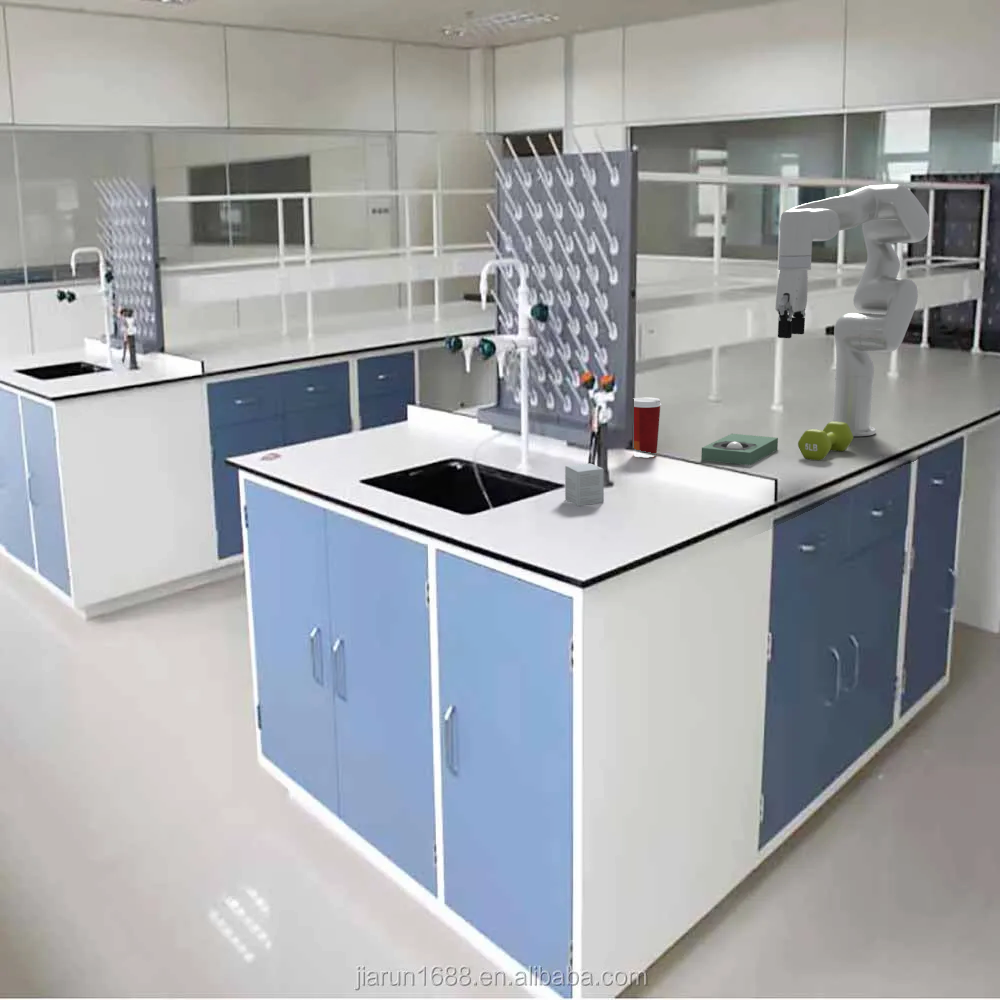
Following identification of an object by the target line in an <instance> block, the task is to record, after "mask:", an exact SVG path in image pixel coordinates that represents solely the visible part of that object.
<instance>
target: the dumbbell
mask: <svg viewBox="0 0 1000 1000" xmlns="http://www.w3.org/2000/svg"><path fill="white" fill-rule="evenodd" d="M824 426H825V427H823V429H815V428H814V429H812V428H811V429H807V430H805V431H804V432H803V433H802V435H801V436H800V438H799V440H798V442H797V446H798V449H799V450H800V453H801V455H802V457H803V458H804V459H806V460H810V459H811V461H822V460H824V459H825V457H827V455H828V454H829V453H830V451H831V450H832V452H833V451H834V452H844V451H846V450H847V449H848V447H850V445H851V443H852V441H853V440H854V436H853V434H852V432H851V430H850V428H849V426H848V424H847V423H844V422H837V421H833V420H832V421H829V422H828V423H827V424H826V425H824Z"/></svg>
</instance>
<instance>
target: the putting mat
mask: <svg viewBox="0 0 1000 1000" xmlns="http://www.w3.org/2000/svg"><path fill="white" fill-rule="evenodd" d="M731 442H739V443H740V444H741V445H742V447H743V448H726V447H727V445H728V444H729V443H731ZM778 444H779V438H778V437H773V436H760V435H753V434H751V435H750V434H743V433H742V434H741V433H739V434H738V433H730V434H728V435H726V436H724V437H721V438H719V439H717V440H716V441H713V442H711V443H709V444H706V445H704V446H703V447H701V456H700V457H701V461H707V462H716V463H727V464H735V465H744V466H751V465H752V464H754V463H756V462H758V461H760V460H761V459H763V458H765V457H767V456H768V455H770V454H773V453H775V451H778V449H779V448H778Z"/></svg>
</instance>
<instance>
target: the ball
mask: <svg viewBox="0 0 1000 1000" xmlns="http://www.w3.org/2000/svg"><path fill="white" fill-rule="evenodd" d="M726 448H743V447H742V445H741V444H740V443H739V442H731V443H729V444H728V445H727V447H726Z"/></svg>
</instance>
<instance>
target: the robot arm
mask: <svg viewBox="0 0 1000 1000" xmlns="http://www.w3.org/2000/svg"><path fill="white" fill-rule="evenodd" d="M930 223H931V222H930V217H929V214H928V213H927V211H926V209H925V208H924V207H923V204H921V202H920V201H919V199H918V198H917V197H916V196H915V194H914V193H913V192H912V191H911V189H909V188H908V187H906V186H905V185H903V184H898V183H897V184H893V183H892V184H873V185H868V186H867V185H866V186H863V187H861V188H858V189H855V190H853V191H850V192H847V193H845V194H842V195H839V196H832V197H828V198H825V199H821V200H815V201H811V202H808V203H807V202H806V203H802V204H801V205H797V206H794V207H792V208H789V209H788V210H785V211H783V212H782V213H781V214H780V221H779V246H778V267H777V270H778V271H779V272H778V273H779V274H778V280H777V285H776V287H777V288H776V297H775V298H776V299H775V311H776V312H777V313H778V317H777V318H778V319H777V320H778V323H777V338H779V339H791V338H792V336H793V335H804V334H805V325H806V324H805V323H806V309H807V304H808V292H809V291H808V286H809V285H808V284H809V282H808V281H809V280H808V278H809V277H808V276H809V275H808V274H809V273H808V271H809V270H810V271H811V270H812V253H813V242H825V241H829V240H832V239H833V238H834V237H836V236H837V234H838V233H839V232H840V231H846V230H850V229H853V228H856V227H858V226H862V234H863V239H864V243H865V247H866V253H867V255H866V256H867V257H866V259H867V260H866V263H865V267H864V269H863V272H862V275H861V276H860V280H859V282H858V284H857V286H856V289H855V293H854V296H853V307H854V308H855V309H856V310H858V311H859V312H848V313H845V314H843V315H841V316H840V317H839V318H838V319H837V320H836V322H835V323H834V329H833V330H834V331H833V334H834V335H833V337H834V344H835V353H836V354H835V355H836V357H835V358H836V361H835V362H836V364H835V380H834V395H833V410H832V413H833V414H832V421H837V422H844V423H847V424H848V426H849V428H850V430H851V432H852V434H853V437H867V436H868V437H869V436H873V435H875V434H876V431H877V429H876V428H875V427H873V426H871V416H872V415H871V414H872V404H873V401H872V399H873V388H874V387H873V386H874V385H873V384H874V371H875V370H874V369H875V367H874V363H873V359H872V358H871V356H870V353H869V352H876V353H877V352H878V353H892V352H895V351H897V350H898V349H899V348H900V346H901V345H902V343H903V341H904V338H905V336H906V333H907V330H908V328H909V326H910V323H911V320H912V318H913V315H914V312H915V311H916V307H917V303H918V300H919V299H918V297H919V294H918V293H919V291H918V287H917V284H916V283H915V282H914V281H913V280H912V279H910V278H906V277H898V276H899V275H898V274H899V271H900V268H901V262H900V258H899V256H898V255H897V253H896V251H895V249H894V248H893V246H892V244H893V243H895V244H898V243H899V244H904V243H905V244H908V243H909V244H914V243H915V244H916V243H918V242H921V241H923V240H924V239H925V238H926V237H927V235H928V233H929V231H930V226H931V225H930Z"/></svg>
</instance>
